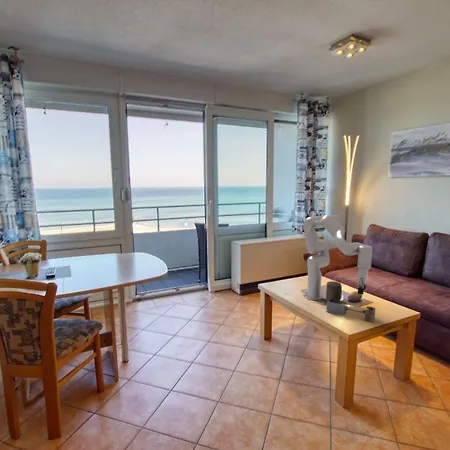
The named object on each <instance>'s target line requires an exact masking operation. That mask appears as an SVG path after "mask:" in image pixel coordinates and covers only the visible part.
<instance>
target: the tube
mask: <svg viewBox="0 0 450 450" xmlns="http://www.w3.org/2000/svg"><path fill="white" fill-rule="evenodd" d="M341 304H342V305H345V310H346V311H349V312H355V313H360V314H364V315H365V310H369V309H368V308H366V307H362V306H357V305H352V304H348V303H346V304H344V303H341Z"/></svg>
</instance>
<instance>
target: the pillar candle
mask: <svg viewBox="0 0 450 450" xmlns="http://www.w3.org/2000/svg"><path fill="white" fill-rule="evenodd" d="M325 292H326V293H325V294H326V295H325V302H326V303H327V301H328V300H329V299H334V300H339V301H341V298H342V297H341V294H342V283H340V282H339V281H327V282H326V291H325Z"/></svg>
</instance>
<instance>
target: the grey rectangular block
mask: <svg viewBox="0 0 450 450" xmlns="http://www.w3.org/2000/svg"><path fill="white" fill-rule="evenodd" d="M341 303H344V304H348V303H347V301H344V300H340V301H339V300H334V299H329V300H328V301H327V302H326V310H325V311H326V313H330V314H334V315H340V316H343V317H344V316H345V315H346V312H347V310H345V305H342V304H341Z"/></svg>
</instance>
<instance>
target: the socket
mask: <svg viewBox="0 0 450 450" xmlns="http://www.w3.org/2000/svg"><path fill="white" fill-rule="evenodd" d="M365 308H368V309H369V310H365V314H364V321H365V322H368V323H369V322H370V323H374V322H375V318H376V317H375V316H376V307H374V306H367V305H366V307H365Z"/></svg>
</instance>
